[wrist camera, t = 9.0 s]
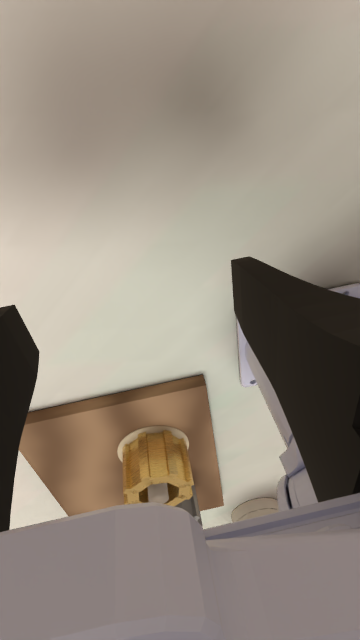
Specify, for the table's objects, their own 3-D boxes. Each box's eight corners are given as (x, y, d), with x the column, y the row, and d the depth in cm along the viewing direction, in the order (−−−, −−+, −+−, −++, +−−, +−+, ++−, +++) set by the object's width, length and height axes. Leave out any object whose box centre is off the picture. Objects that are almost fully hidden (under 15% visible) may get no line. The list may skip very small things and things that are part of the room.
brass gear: (187, 427, 29) (195, 470, 26) (183, 465, 32) (191, 507, 29) (121, 434, 28) (121, 479, 25) (124, 471, 32) (125, 516, 28)
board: (202, 374, 28) (220, 434, 23) (221, 495, 39) (235, 551, 35) (7, 417, 27) (-15, 487, 22) (85, 526, 39) (81, 587, 34)
